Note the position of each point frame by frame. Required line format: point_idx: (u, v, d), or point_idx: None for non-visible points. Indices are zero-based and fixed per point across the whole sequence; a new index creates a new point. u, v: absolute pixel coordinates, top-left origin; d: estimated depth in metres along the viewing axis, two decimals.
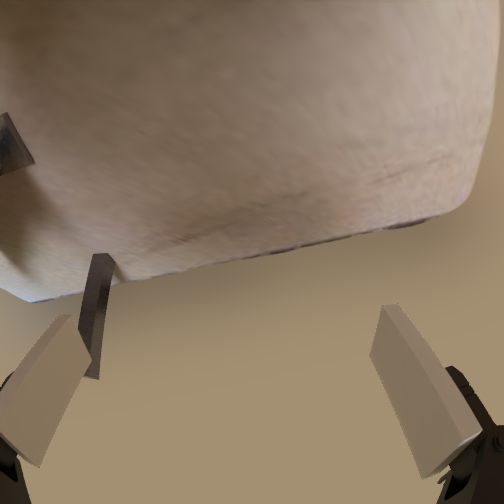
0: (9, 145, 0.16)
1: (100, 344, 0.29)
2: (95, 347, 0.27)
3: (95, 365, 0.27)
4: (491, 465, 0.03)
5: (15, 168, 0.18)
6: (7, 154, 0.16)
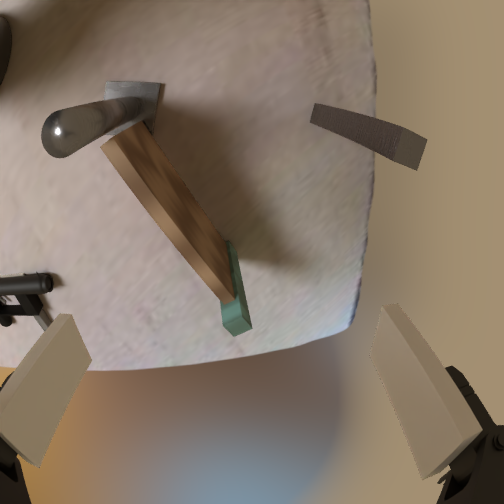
0: (131, 92, 0.23)
1: None
2: None
3: None
4: (491, 465, 0.03)
5: (154, 104, 0.24)
6: (136, 99, 0.24)
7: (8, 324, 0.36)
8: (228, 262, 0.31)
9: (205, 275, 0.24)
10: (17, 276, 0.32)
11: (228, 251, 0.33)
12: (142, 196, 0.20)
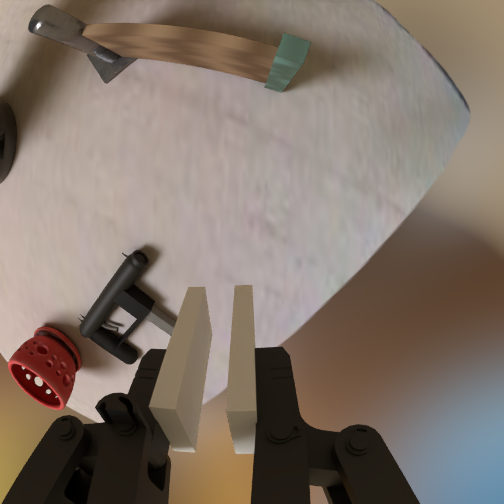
0: None
1: None
2: None
3: None
4: (270, 462, 0.05)
5: None
6: None
7: (133, 357, 0.41)
8: None
9: (226, 41, 0.17)
10: None
11: None
12: (127, 30, 0.16)
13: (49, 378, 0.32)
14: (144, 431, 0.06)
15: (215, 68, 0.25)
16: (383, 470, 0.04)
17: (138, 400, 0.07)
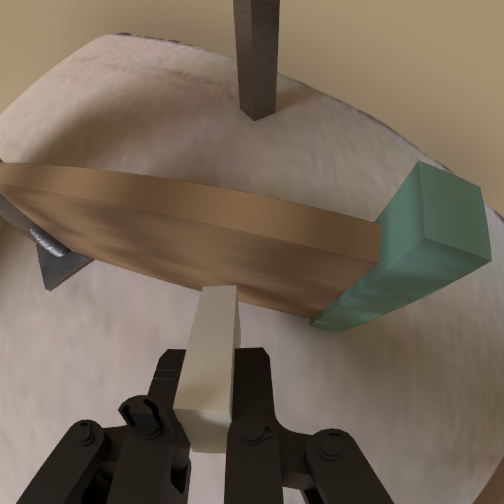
0: None
1: None
2: None
3: None
4: (242, 463, 0.05)
5: None
6: None
7: None
8: None
9: (238, 213, 0.08)
10: None
11: None
12: (34, 179, 0.09)
13: None
14: (168, 434, 0.05)
15: None
16: (357, 475, 0.04)
17: None
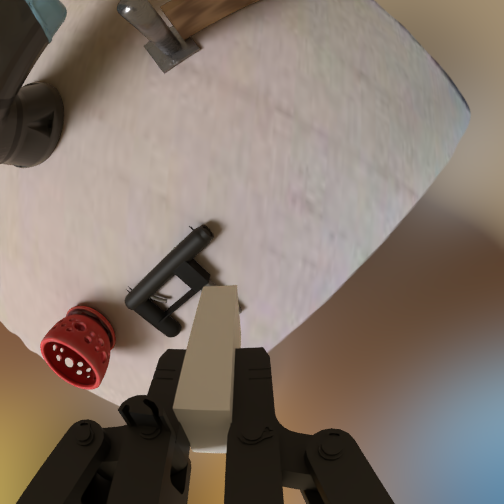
0: None
1: None
2: None
3: None
4: (242, 463, 0.05)
5: None
6: None
7: (177, 329, 0.46)
8: None
9: None
10: None
11: None
12: None
13: (88, 354, 0.37)
14: (168, 434, 0.05)
15: None
16: (357, 475, 0.04)
17: None
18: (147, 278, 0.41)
